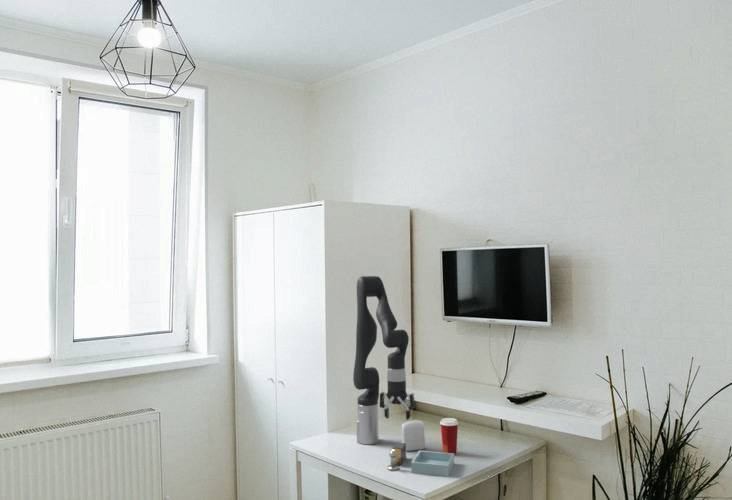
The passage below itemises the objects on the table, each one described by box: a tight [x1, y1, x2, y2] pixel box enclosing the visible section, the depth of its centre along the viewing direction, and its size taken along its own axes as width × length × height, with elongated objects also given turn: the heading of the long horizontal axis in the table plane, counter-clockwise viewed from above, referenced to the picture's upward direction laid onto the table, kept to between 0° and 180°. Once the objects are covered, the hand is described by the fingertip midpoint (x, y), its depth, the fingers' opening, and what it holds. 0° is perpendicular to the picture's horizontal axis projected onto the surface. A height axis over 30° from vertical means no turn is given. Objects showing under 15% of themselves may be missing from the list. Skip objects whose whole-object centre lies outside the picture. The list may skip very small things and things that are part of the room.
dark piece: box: [390, 442, 407, 467], centre depth 236 cm, size 4×10×6 cm, turn 162°
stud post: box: [386, 450, 400, 472], centre depth 228 cm, size 4×4×7 cm
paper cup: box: [439, 417, 459, 456], centre depth 245 cm, size 8×8×14 cm
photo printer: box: [400, 419, 426, 452], centre depth 251 cm, size 10×4×12 cm, turn 107°
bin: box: [410, 449, 455, 477], centre depth 228 cm, size 14×14×4 cm
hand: (397, 418), depth 236 cm, fingers open, 8 cm apart
